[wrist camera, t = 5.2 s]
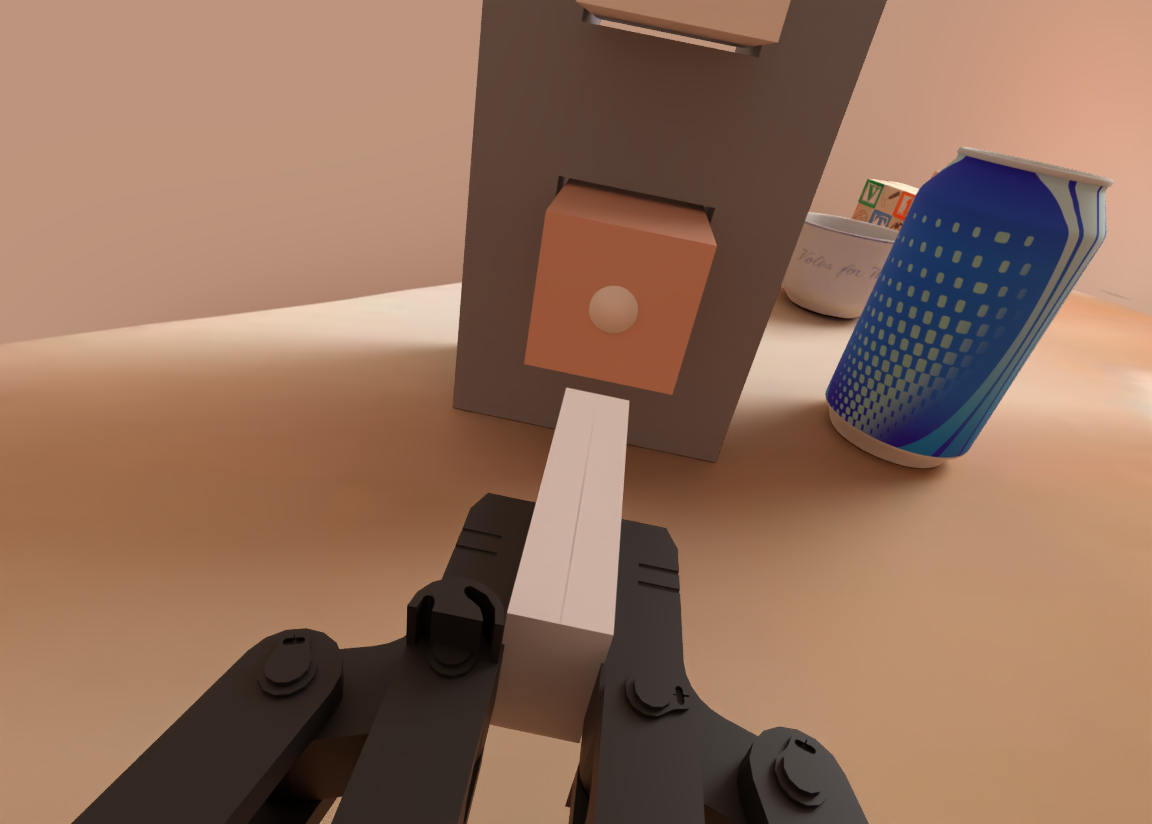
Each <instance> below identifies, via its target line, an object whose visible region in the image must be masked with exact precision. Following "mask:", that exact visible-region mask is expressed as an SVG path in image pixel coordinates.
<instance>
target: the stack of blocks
mask: <svg viewBox="0 0 1152 824" xmlns="http://www.w3.org/2000/svg"><path fill="white" fill-rule="evenodd" d="M939 172H940V171H935V172H934V174H933V176H932V177H934V176H935V175H936V174H937V173H939ZM918 191H919V189H917V188H914V187H911V186H909V185H905V184H902V183H896V182H890V181H881V180H874V179H867V181H866V184H865V186H864V189H863V191H862V194H861V196H860V198H859V201H858V202H859V203H858V205H857V208H856V210H855V212H854V215H853V217H852V219H854V220H859V221H864V222H867V223H871V224H876V225H879V226H883V227H887V228H890V229H894V230H896V231H900V229H901V227H902V225H903V222H904V220H905V218H906V216H907V214H908V212H909V209H910V207H911V205H912V203H913V201H914V198H915V196H916V194H917V192H918Z"/></svg>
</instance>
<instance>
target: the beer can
mask: <svg viewBox="0 0 1152 824" xmlns="http://www.w3.org/2000/svg"><path fill="white" fill-rule="evenodd" d="M1113 182H1114V181H1113V180H1111V179H1108V178H1105V177H1101V176H1097V175H1093V174H1089V173H1085V172H1081V171H1077V170H1072V169H1068V168H1064V167H1059V166H1055V165H1051V164H1046V163H1042V162H1037V161H1033V160H1028V159H1023V158H1019V157H1014V156H1009V155H1004V154H999V153H995V152H990V151H985V150H980V149H974V148H968V147H960V148H959V149H958V156H957V158H956V159H955V160H954V161H952V162H951V163H950V164H949V165H947V166H946V167H945V168H944V169H942V170H941V171H940V172H939V173H937V174H936V175H935V176H934V177H932V178H931V179H930V180H929V181H928V182H926V183H925V184H924V185H923V186H922V187H921V188H920V189H919V191H918V192H917V194H916V196H915V198H914V201H913V203H912V205H911V207H910V209H909V212H908V214H907V216H906V218H905V220H904V222H903V225H902V227H901V229H900V231H899V233H898V235H897V238H896V240H895V242H894V244H893V246H892V249H891V251H890V253H889V255H888V257H887V259H886V262H885V264H884V266H883V268H882V270H881V272H880V275H879V277H878V279H877V281H876V283H875V285H874V288H873V290H872V292H871V294H870V296H869V299H868V301H867V303H866V305H865V307H864V309H863V312H862V314H861V316H860V318H859V320H858V322H857V325H856V327H855V329H854V331H853V333H852V336H851V338H850V340H849V342H848V344H847V346H846V349H845V351H844V353H843V355H842V357H841V359H840V362H839V364H838V366H837V368H836V370H835V373H834V375H833V377H832V379H831V381H830V383H829V386H828V388H827V390H826V394H825V395H826V401H827V403H828V406H829V408H830V414H829V415H830V420H831V422H832V424H833V426H834V427H835V429H836V430H837V431H838V432H839V433H840V434H841V435H842V436H843V437H844V438H846V439H847V440H848V441H850V442H851V443H852V444H854V445H855V446H857V447H859V448H860V449H862V450H864V451H866V452H868V453H870V454H872V455H874V456H876V457H878V458H881V459H883V460H886V461H889V462H892V463H895V464H899V465H903V466H907V467H913V468H932V467H936V466H939V465H941V464H942V463H944V462H945V461H947V460H950V459H954V458H958V457H960V456H962V455H964V454H965V453H966V452H968V450H969V449H970V447H971V446H972V444H973V443H974V441H975V439H976V438H977V436H978V435H979V433H980V432H981V430H982V429H983V427H984V426H985V424H986V422H987V421H988V419H989V418H990V416H991V415H992V413H993V412H994V410H995V409H996V407H997V405H998V404H999V402H1000V401H1001V399H1002V398H1003V396H1004V395H1005V393H1006V391H1007V390H1008V388H1009V387H1010V385H1011V384H1012V382H1013V381H1014V379H1015V378H1016V376H1017V374H1018V373H1019V371H1020V370H1021V368H1022V367H1023V365H1024V364H1025V362H1026V361H1027V359H1028V357H1029V356H1030V354H1031V353H1032V351H1033V350H1034V348H1035V347H1036V345H1037V344H1038V342H1039V340H1040V339H1041V337H1042V336H1043V334H1044V333H1045V331H1046V330H1047V328H1048V327H1049V325H1050V323H1051V322H1052V320H1053V319H1054V317H1055V316H1056V314H1057V313H1058V311H1059V310H1060V308H1061V306H1062V305H1063V303H1064V302H1065V300H1066V299H1067V297H1068V296H1069V294H1070V292H1071V291H1072V289H1073V288H1074V286H1075V285H1076V283H1077V282H1078V280H1079V279H1080V277H1081V275H1082V274H1083V272H1084V271H1085V269H1086V268H1087V266H1088V265H1089V263H1090V261H1091V260H1092V258H1093V257H1094V255H1095V254H1096V252H1097V251H1098V249H1099V248H1100V246H1101V245H1102V243H1103V241H1104V239H1105V237H1106V232H1107V230H1106V207H1105V191H1106V190H1107V188H1108V187H1111V186H1112V184H1113Z"/></svg>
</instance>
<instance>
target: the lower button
mask: <svg viewBox="0 0 1152 824" xmlns="http://www.w3.org/2000/svg"><path fill="white" fill-rule="evenodd" d="M716 248H717V244H716V241H715V239H714V236H713V233H712V230H711V227H710V224H709V221H708V218H707V215H706V212H705V209H704V207H703V205H699V204H694V203H689V202H684V201H679V200H674V199H669V198H665V197H660V196H655V195H650V194H645V193H640V192H635V191H631V190H626V189H621V188H616V187H611V186H606V185H601V184H596V183H592V182H587V181H582V180H577V179H572V178H569V179H568V181H567V182H566V184H565V185H564V186H563V188H562V189H561V191H560V192H559V193H558V195H557V196H556V197H555V199H554V200H553V202H552V203H551V204H550V206H549V207H548V208H547V210H546V214H545V221H544V228H543V235H542V242H541V249H540V256H539V263H538V270H537V277H536V284H535V291H534V298H533V305H532V312H531V319H530V326H529V333H528V340H527V347H526V354H525V361H524V364H526V365H531V366H536V367H541V368H545V369H550V370H555V371H560V372H565V373H569V374H574V375H579V376H584V377H589V378H593V379H598V380H603V381H608V382H613V383H617V384H622V385H627V386H632V387H637V388H641V389H646V390H651V391H656V392H661V393H665V394H670V395H672V394H673V391H674V388H675V384H676V381H677V378H678V374H679V371H680V368H681V364H682V361H683V358H684V354H685V351H686V348H687V344H688V341H689V338H690V334H691V331H692V328H693V324H694V321H695V318H696V314H697V311H698V308H699V304H700V301H701V298H702V294H703V291H704V288H705V284H706V281H707V278H708V274H709V271H710V268H711V264H712V261H713V258H714V254H715V251H716Z"/></svg>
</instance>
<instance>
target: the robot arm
mask: <svg viewBox="0 0 1152 824" xmlns="http://www.w3.org/2000/svg"><path fill="white" fill-rule="evenodd" d="M628 414H629V400H624V399H619V398H614V397H609V396H605V395H600V394H595V393H590V392H585V391H580V390H576V389H571V388H566V391H565V395H564V399H563V402H562V406H561V410H560V414H559V417H558V421H557V425H556V429H555V433H554V436H553V440H552V444H551V448H550V452H549V455H548V459H547V463H546V467H545V471H544V474H543V478H542V482H541V486H540V490H539V493H538V497H537V501H536V503H535V502H530V501H525V500H520V499H515V498H511V497H506V496H501V495H496V494H491V493H488V494H486V495H485V496H484V497H483V498H482V499H481V500H479V501H478V502H477V503H476V504H475V505H474V506H473V507H471V509H470V511H469V514H468V516H467V519H466V521H465V524H464V526H463V529H462V532H461V533H460V536H459V538H458V541H457V543H456V547H455V549H454V551H453V553H452V556H451V558H450V560H449V563H448V565H447V568H446V570H445V573H444V575H443V578H442V580H439V581H435V582H432V583H430V584H429V585H427V586H426V587H424V588H423V589H421V590H419V591H418V592H417V593H416V594H415V596H414V597H413V599H412V600H411V601H410V603H409V604H408V605H407V634H406V636H404V637H403V638H401V639H398V640H396V641H393V642H391V643H388V644H383V645H377V646H371V647H360V648H349V649H339V647H338V645H337V643H336V642H335V641H334V640H332V639H331V638H330V637H328V636H327V635H326V634H325V633H323V632H319V631H315V630H311V629H307V628H305V629H293V630H285V631H282V632H280V633H277V634H274V635H272V636H269V637H266V638H265V639H263V640H262V641H261V642H259V643H258V644H256V645H255V646H254V647H252V648H251V649H250V650H248V651H247V652H246V653H245V654H244V655H243V656H242V657H241V658H240V659H239V660H238V661H237V662H236V663H235V664H234V665H233V666H232V667H231V668H230V669H229V670H228V671H227V672H226V673H225V674H224V675H223V676H222V677H221V678H219V679H218V680H217V681H216V682H215V683H214V684H213V685H212V686H211V687H210V688H209V689H208V690H207V691H206V692H205V693H204V694H203V695H202V696H201V697H200V698H199V699H198V700H197V701H196V702H195V703H194V704H193V705H192V706H191V707H190V708H189V709H188V710H187V711H186V712H185V713H184V714H183V715H182V716H181V717H180V718H179V719H178V720H177V721H176V722H175V723H174V724H172V725H171V726H170V727H169V728H168V729H167V730H166V731H165V732H164V733H163V734H162V735H161V736H160V737H159V738H158V739H157V740H156V741H155V742H154V743H153V744H152V745H151V746H150V747H149V748H148V749H147V750H146V751H145V752H144V753H143V754H142V755H141V756H140V757H139V758H138V759H137V760H136V761H135V762H134V763H133V764H132V765H131V766H130V767H129V768H128V769H127V770H125V771H124V772H123V773H122V774H121V775H120V776H119V777H118V778H117V779H116V780H115V781H114V782H113V783H112V784H111V785H110V786H109V787H108V788H107V789H106V790H105V791H104V792H103V793H102V794H101V795H100V796H99V797H98V798H97V799H96V800H95V801H94V802H93V803H92V804H91V805H90V806H89V807H88V808H87V809H86V810H85V811H84V812H83V813H82V814H81V815H79V816H78V817H77V818H76V819H75V820H74V821H73V822H72V823H71V824H319V823H320V822H321V820H322V819H323V817H324V816H325V815H326V813H327V812H328V810H329V809H330V807H331V806H332V804H333V803H334V801H335V800H336V798H337V797H342V796H343V797H342V799H341V801H340V804H339V806H338V809H337V811H336V813H335V816H334V818H333V821H332V823H331V824H467V821H468V817H469V813H470V809H471V804H472V800H473V796H474V792H475V788H476V784H477V779H478V775H479V771H480V767H481V763H482V757H483V751H484V745H485V741H486V737H487V733H488V729H489V724H490V725H495V726H500V727H504V728H509V729H514V730H519V731H523V732H528V733H533V734H538V735H542V736H547V737H552V738H557V739H561V740H566V741H571V742H576V743H579V742H580V739H581V736H582V743H581V752H580V762H579V765H578V768H577V771H576V774H575V777H574V780H573V783H572V786H571V789H570V793H569V796H568V799H567V802H566V805H565V806H566V807H570V816H569V824H869V823H868V821H867V819H866V817H865V815H864V813H863V811H862V809H861V807H860V805H859V802H858V800H857V798H856V796H855V794H854V792H853V790H852V788H851V786H850V784H849V782H848V779H847V777H846V775H845V774H844V772H843V770H842V769H841V767H840V766H839V764H838V763H837V761H836V760H835V758H834V757H833V755H832V754H831V753H830V752H829V751H828V750H826V749H825V748H824V747H823V746H822V745H821V744H820V743H819V742H818V741H817V740H816V739H814V738H812V737H810V736H808V735H806V734H804V733H802V732H801V731H799V730H796V729H790V728H785V727H776V728H772V729H768V730H765V731H763V732H762V733H761V734H760V735H759V736H756V735H754V734H753V733H751V732H749V731H747V730H745V729H743V728H741V727H740V726H738V725H736V724H734V723H732V722H730V721H729V720H727V719H725V718H723V717H722V716H720V715H719V714H717V713H716V712H714V711H713V710H711V709H710V708H709V707H708V706H707V705H706V704H705V703H704V702H703V701H702V700H701V699H700V698H699V697H698V695H697V694H696V692H695V691H694V690H693V688H692V687H691V685H690V682H689V680H688V678H687V676H686V673H685V667H684V662H683V643H682V623H681V604H680V594H679V590H680V585H679V575H678V572H679V566H678V549H677V547H676V545H675V544H674V542H673V540H672V538H671V536H670V534H669V533H668V531H667V529H666V528H662V527H658V526H653V525H648V524H643V523H638V522H634V521H629V520H624V519H621V517H622V502H623V488H624V473H625V458H626V443H627V428H628Z"/></svg>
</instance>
